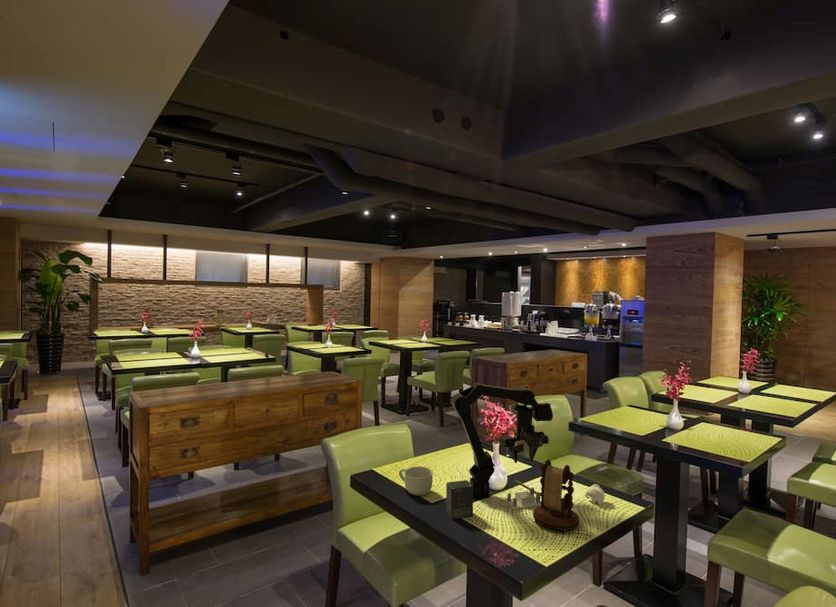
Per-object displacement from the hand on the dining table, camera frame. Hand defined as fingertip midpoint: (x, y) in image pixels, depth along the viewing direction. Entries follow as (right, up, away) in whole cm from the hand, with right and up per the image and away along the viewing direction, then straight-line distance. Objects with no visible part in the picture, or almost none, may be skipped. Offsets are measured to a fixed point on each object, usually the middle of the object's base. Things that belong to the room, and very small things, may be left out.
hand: (523, 462), depth 171 cm
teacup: (-41, -12, +1) cm, 43 cm away
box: (-26, -12, -18) cm, 34 cm away
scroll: (+6, -13, -22) cm, 26 cm away
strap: (-1, -7, -8) cm, 11 cm away
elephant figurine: (+25, -13, -7) cm, 29 cm away
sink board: (-2, -12, -8) cm, 15 cm away
